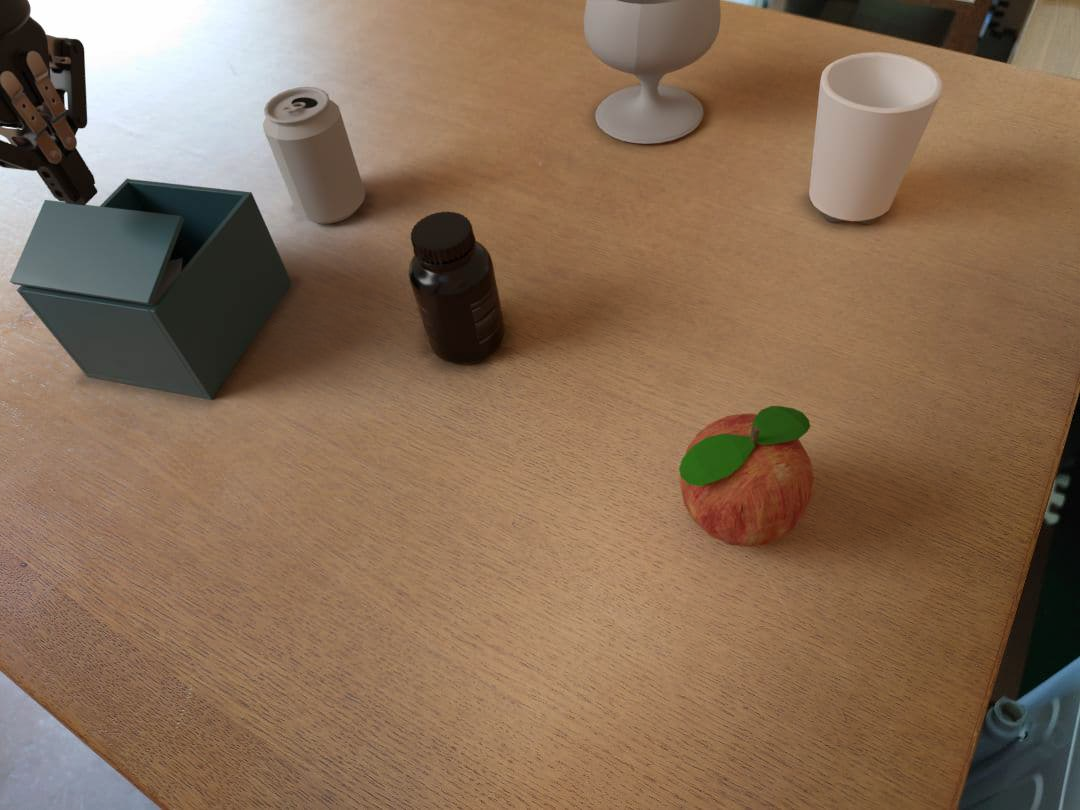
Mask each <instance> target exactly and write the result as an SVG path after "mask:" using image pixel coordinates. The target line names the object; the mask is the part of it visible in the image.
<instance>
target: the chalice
mask: <svg viewBox="0 0 1080 810" xmlns="http://www.w3.org/2000/svg"><path fill="white" fill-rule="evenodd" d="M721 13H722V11H721V1H720V0H586V3H585V7H584V12H583V32H584V39H585V41H586V43H587V46H588V47H589V49H590V51H591V53H592V54H593V55H594V57H596V58H597V59H598V60H599V61H600V62H601V63H603V64H605V65H606V66H609V67H610V68H612V69H614V70H616V71H620V72H621V73H625V74H630V75H633V76H635V77H636V78H637V80H638V82H639V83H640V84H639V85H633V86H629V87H625V88H622V89H619V90H617V91H615V92H613V93H611V94H610V95H608V96H607V97H605V98H604V99H603V100H602V101H601V102H600V104H599V105H598V106H597V108H596V111H595V121H596V123H597V127H599V128H600V129H601V130H602V132H604V133H605V134H607V135H609V136H610V137H612V138H615V139H617V140H620V141H622V142H627V143H633V144H645V145H646V144H647V145H648V144H661V143H665V142H671V141H675V140H676V139H679V138H682V137H685V136H686V135H688V134H690V133H692V132H693V131H694V130H695V129H696V128H697V127H699V125H700V124H701V122H702V120H703V118H704V108H703V104H702V103H701V102H700V101H699V99H698V98H697V97H695V96H694V95H692V94H691V93H689V92H688V91H686V90H684V89H682V88H679V87H676V86H672V85H666V84H660V82H661V80H662V78H663V77H664V76H665V75H667V74H670V73H673V72H677V71H680V70H682V69H684V68H686V67H688V66H690V65H692V64H693V63H695V62H697V61H699V60H700V59H701V58H702V57H704V56H705V55H706V53H707V52H708V51H709V50H710V49H711V47H712V46H713V44H714V43H715V41H716V39H717V37H718V36H719V32H720V26H721V18H722V17H721V16H722V15H721Z"/></svg>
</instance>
